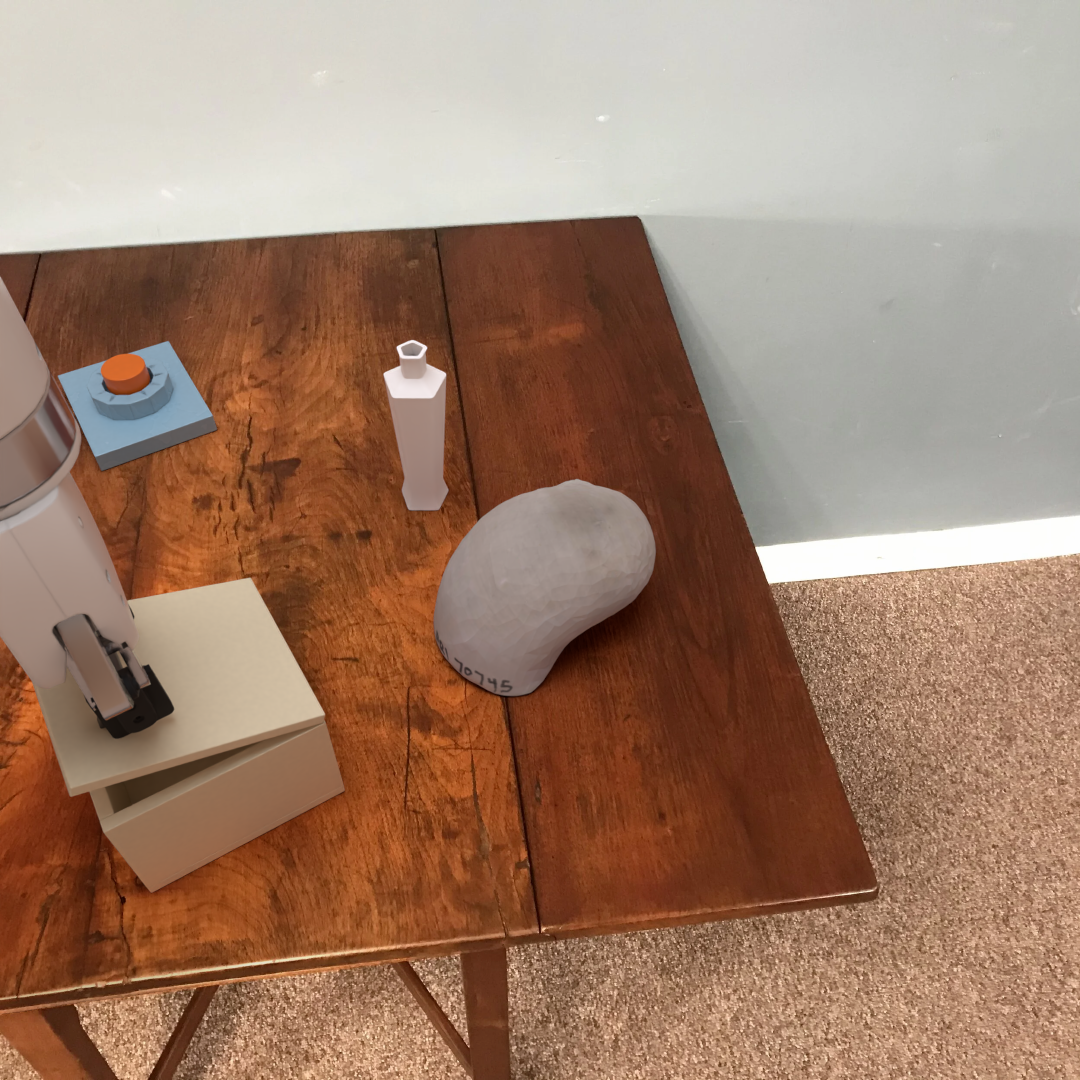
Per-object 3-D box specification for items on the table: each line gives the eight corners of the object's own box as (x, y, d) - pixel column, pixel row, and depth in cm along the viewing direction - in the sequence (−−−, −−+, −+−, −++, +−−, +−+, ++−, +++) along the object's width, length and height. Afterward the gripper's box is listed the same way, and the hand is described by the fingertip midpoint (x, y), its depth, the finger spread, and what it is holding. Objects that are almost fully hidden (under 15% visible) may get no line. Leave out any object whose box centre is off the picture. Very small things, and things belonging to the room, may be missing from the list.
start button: (113, 401, 79) (107, 385, 78) (101, 377, 81) (95, 361, 80) (156, 387, 81) (150, 371, 79) (143, 364, 83) (137, 348, 81)
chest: (151, 893, 56) (103, 833, 49) (96, 744, 62) (47, 672, 56) (345, 790, 61) (325, 722, 54) (276, 661, 67) (251, 585, 60)
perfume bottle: (453, 474, 79) (445, 329, 68) (451, 513, 77) (443, 367, 65) (398, 474, 79) (381, 328, 68) (395, 513, 76) (376, 367, 65)
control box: (101, 471, 78) (87, 440, 76) (64, 390, 85) (49, 359, 82) (217, 430, 82) (207, 399, 79) (173, 355, 89) (163, 324, 86)
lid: (69, 797, 46) (70, 735, 43) (14, 630, 52) (11, 565, 49) (323, 723, 54) (338, 665, 51) (249, 585, 60) (258, 527, 57)
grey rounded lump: (630, 665, 76) (667, 484, 72) (622, 736, 62) (667, 518, 59) (448, 627, 77) (477, 448, 74) (401, 688, 64) (433, 472, 60)
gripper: (-167, 347, 40) (16, 594, 54) (-98, 632, 31) (100, 842, 45) (15, 290, 43) (144, 540, 57) (128, 537, 33) (249, 764, 47)
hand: (124, 672), depth 51 cm, fingers closed on lid, 6 cm apart
